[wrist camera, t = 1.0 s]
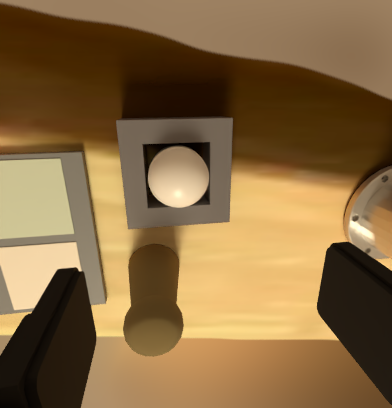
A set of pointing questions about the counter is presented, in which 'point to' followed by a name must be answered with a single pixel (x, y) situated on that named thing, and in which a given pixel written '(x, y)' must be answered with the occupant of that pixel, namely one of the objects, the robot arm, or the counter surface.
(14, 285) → the game board
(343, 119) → the counter surface
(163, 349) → the brown pepper mill
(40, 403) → the robot arm
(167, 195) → the cream white ball
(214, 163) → the gray square holder
